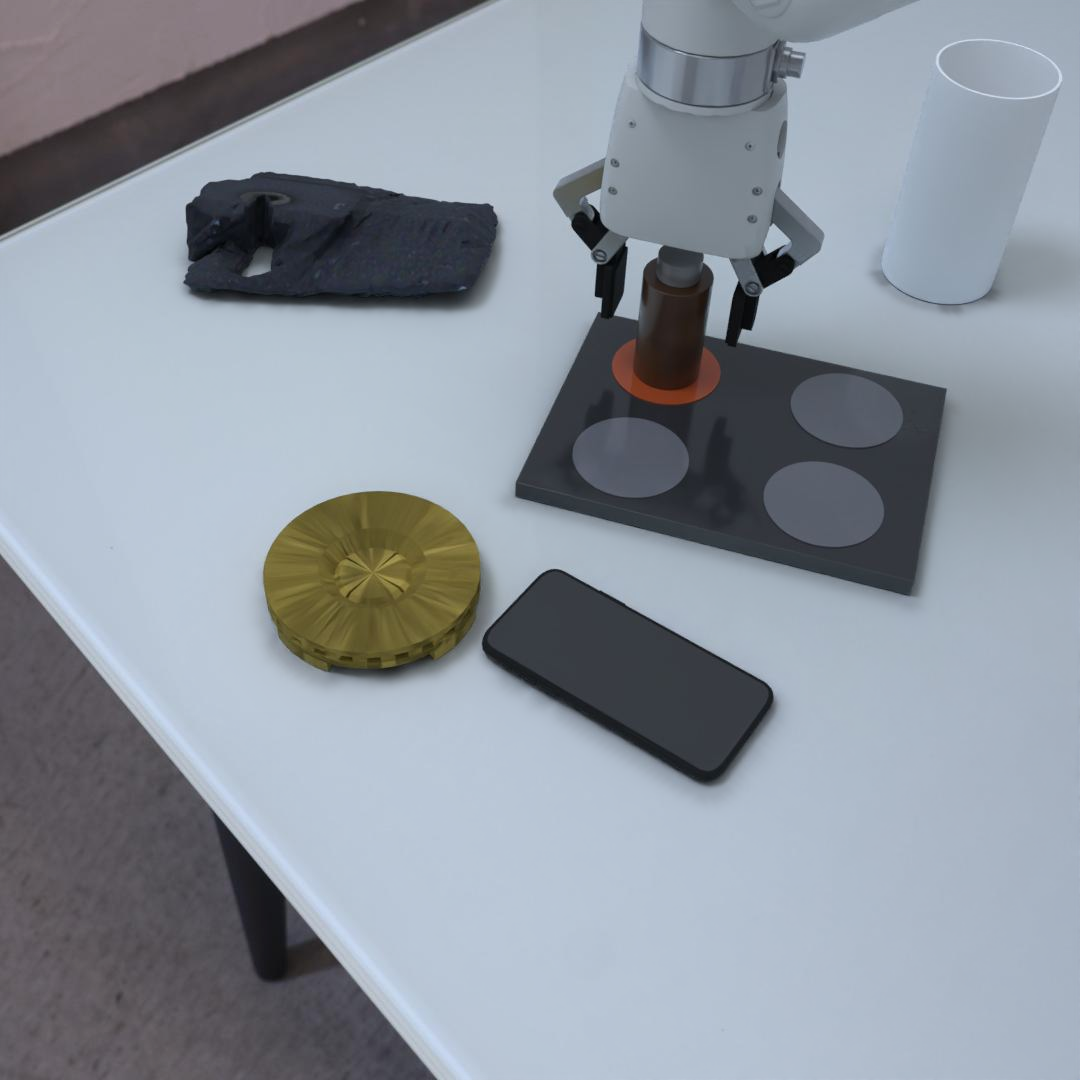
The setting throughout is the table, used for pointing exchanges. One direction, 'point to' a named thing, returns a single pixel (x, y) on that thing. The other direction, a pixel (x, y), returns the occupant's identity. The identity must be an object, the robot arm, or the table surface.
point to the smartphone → (630, 673)
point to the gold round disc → (372, 581)
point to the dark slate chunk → (333, 238)
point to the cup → (968, 168)
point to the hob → (746, 455)
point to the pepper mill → (672, 318)
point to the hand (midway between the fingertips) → (673, 318)
